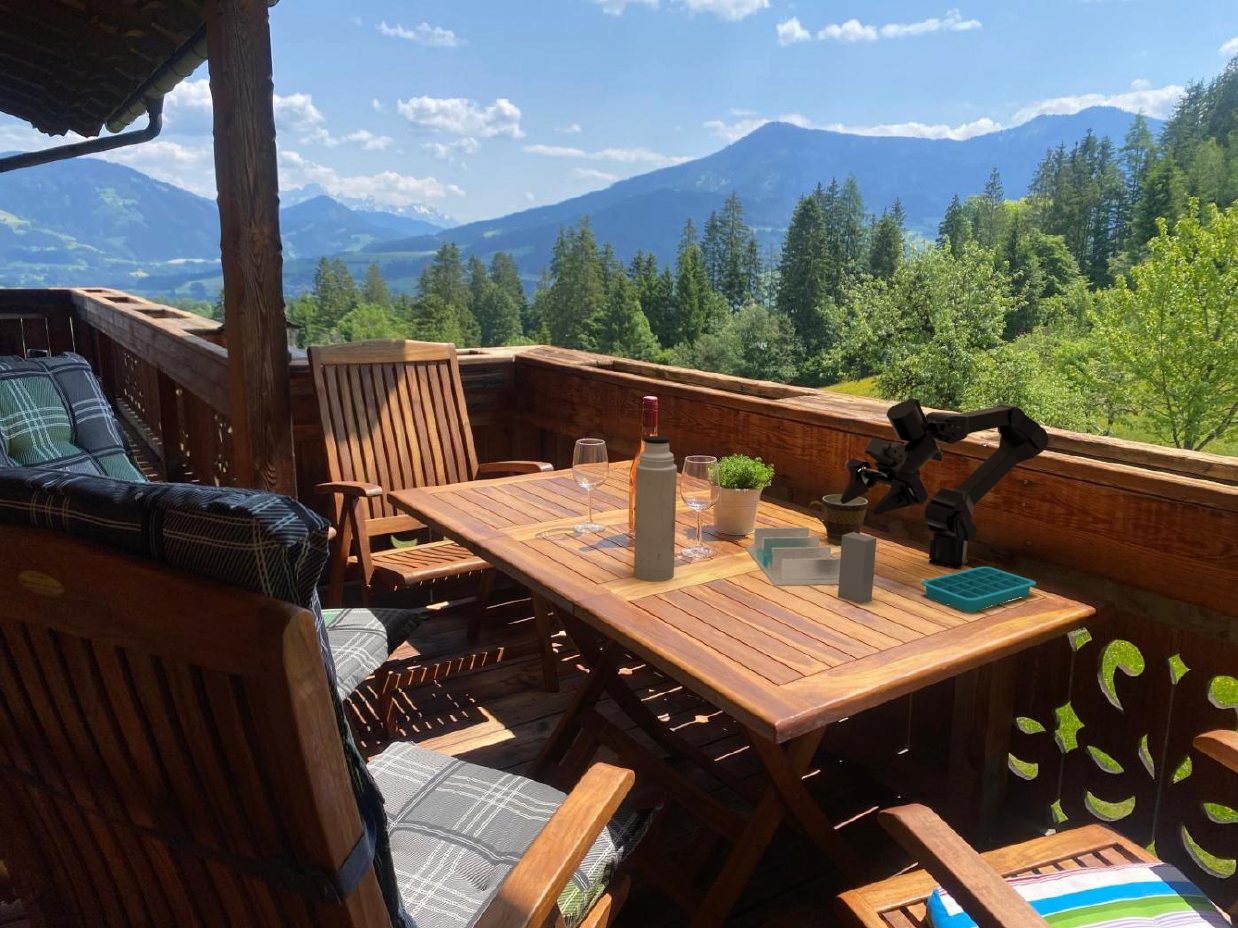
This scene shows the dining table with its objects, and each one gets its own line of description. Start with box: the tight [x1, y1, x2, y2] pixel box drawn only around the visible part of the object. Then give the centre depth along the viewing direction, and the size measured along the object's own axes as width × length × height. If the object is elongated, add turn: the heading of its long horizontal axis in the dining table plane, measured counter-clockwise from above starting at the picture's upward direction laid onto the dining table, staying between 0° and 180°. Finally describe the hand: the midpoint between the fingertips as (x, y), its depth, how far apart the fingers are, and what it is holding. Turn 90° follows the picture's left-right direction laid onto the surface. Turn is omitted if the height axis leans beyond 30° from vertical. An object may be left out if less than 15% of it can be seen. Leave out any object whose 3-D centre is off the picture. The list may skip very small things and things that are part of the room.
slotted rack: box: [746, 526, 841, 586], centre depth 178 cm, size 15×23×5 cm, turn 5°
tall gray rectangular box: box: [837, 532, 877, 605], centre depth 158 cm, size 4×5×12 cm
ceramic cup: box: [808, 494, 869, 547], centre depth 195 cm, size 13×10×10 cm
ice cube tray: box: [920, 566, 1037, 613], centre depth 162 cm, size 12×20×3 cm, turn 121°
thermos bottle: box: [633, 435, 678, 582], centre depth 168 cm, size 8×8×28 cm
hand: (856, 507), depth 168 cm, fingers open, 9 cm apart
